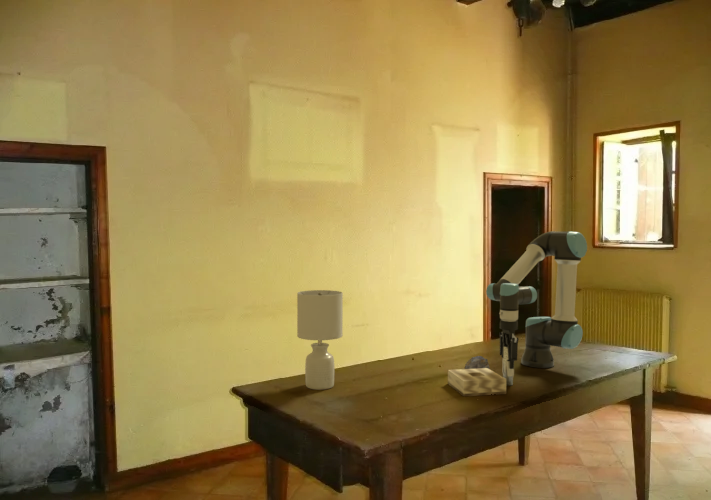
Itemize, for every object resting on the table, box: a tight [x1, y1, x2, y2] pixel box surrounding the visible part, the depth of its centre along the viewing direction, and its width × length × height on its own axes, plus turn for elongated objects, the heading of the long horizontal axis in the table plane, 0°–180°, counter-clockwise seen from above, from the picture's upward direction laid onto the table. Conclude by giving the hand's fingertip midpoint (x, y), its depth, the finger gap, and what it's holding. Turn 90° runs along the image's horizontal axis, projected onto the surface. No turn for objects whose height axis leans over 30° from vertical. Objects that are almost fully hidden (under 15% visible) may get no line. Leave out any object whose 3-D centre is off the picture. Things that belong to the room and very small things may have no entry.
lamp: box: [296, 289, 344, 391], centre depth 239 cm, size 19×19×39 cm
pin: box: [502, 346, 514, 386], centre depth 244 cm, size 4×4×16 cm
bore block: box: [447, 368, 507, 397], centre depth 237 cm, size 18×18×6 cm
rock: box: [464, 355, 491, 370], centre depth 260 cm, size 11×10×10 cm
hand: (507, 374), depth 244 cm, fingers closed on pin, 4 cm apart
